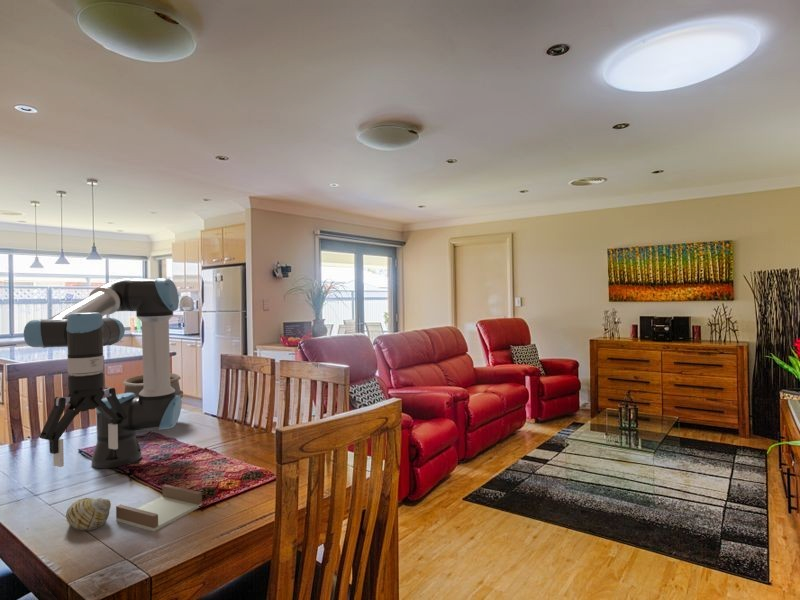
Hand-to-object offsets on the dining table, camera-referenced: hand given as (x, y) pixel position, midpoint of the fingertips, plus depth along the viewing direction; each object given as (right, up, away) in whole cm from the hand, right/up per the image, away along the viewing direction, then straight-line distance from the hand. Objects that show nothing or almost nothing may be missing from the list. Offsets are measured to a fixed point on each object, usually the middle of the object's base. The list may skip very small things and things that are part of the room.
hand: (87, 456), depth 118 cm
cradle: (+15, -18, +7) cm, 24 cm away
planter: (-31, -17, +91) cm, 97 cm away
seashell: (0, -18, +1) cm, 18 cm away
